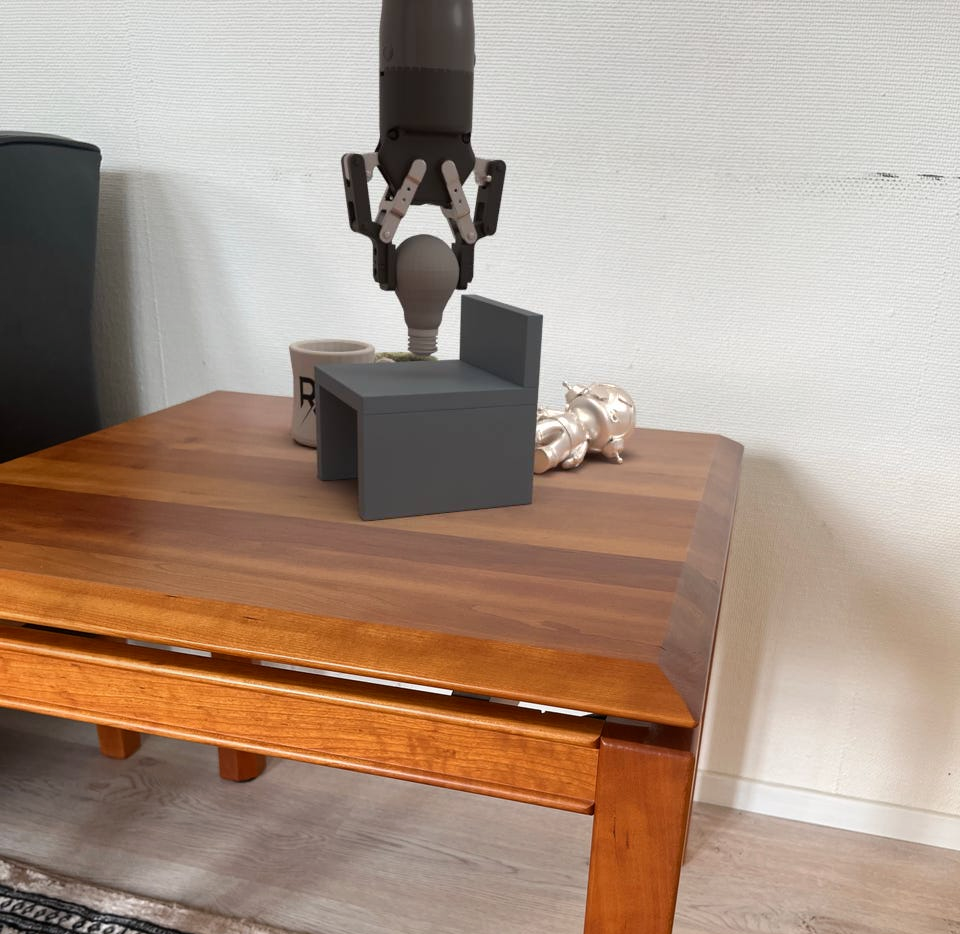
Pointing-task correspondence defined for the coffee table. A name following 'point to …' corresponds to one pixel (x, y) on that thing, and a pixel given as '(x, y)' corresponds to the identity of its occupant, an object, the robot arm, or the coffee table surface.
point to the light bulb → (424, 288)
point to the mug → (304, 380)
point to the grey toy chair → (438, 420)
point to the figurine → (584, 426)
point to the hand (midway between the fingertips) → (423, 288)
